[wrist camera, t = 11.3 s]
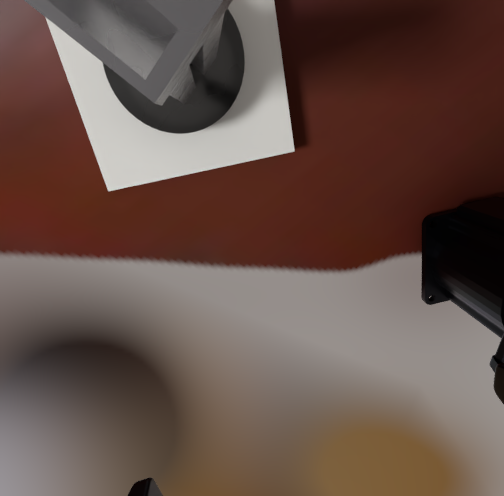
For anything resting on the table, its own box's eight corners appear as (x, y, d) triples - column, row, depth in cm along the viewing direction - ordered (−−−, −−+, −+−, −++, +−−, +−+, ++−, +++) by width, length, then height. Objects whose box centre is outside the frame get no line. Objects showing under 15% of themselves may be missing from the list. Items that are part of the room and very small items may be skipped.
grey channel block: (158, -49, 14) (-13, -658, 3) (266, 55, 16) (403, -83, 5) (85, 74, 15) (-227, -38, 4) (193, 157, 17) (171, 228, 6)
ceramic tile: (290, 149, 19) (294, 151, 18) (113, 187, 18) (108, 191, 17) (258, -78, 15) (261, -91, 14) (33, -38, 14) (21, -49, 14)
